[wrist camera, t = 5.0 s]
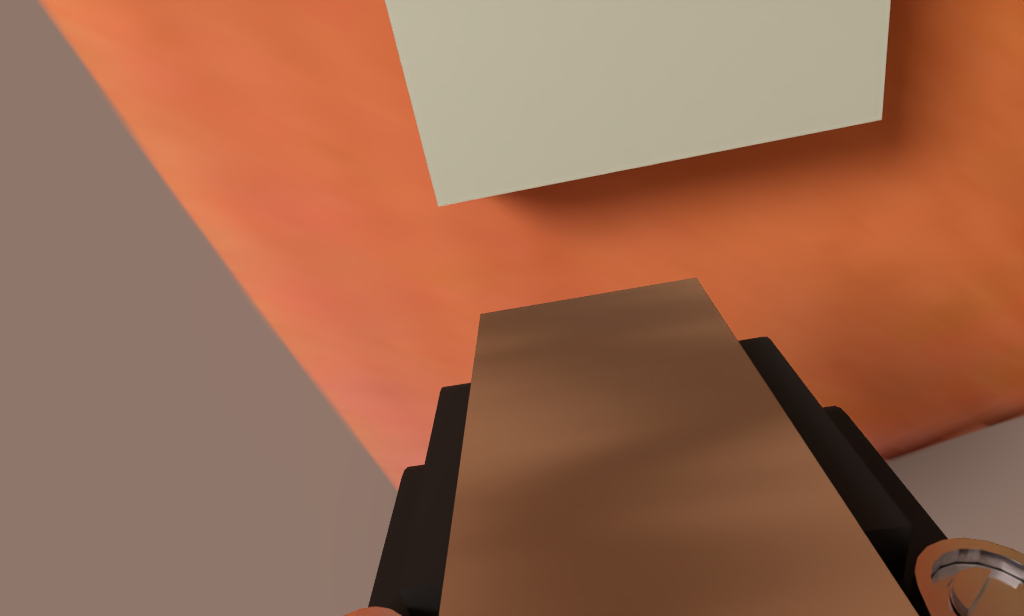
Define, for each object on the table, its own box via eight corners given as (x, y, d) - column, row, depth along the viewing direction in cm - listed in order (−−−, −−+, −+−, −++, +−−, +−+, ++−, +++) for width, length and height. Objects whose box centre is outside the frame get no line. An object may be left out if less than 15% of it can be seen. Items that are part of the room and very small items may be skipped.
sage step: (817, -207, 15) (911, -283, 12) (810, 104, 19) (881, 119, 15) (385, -101, 16) (348, -140, 13) (452, 175, 20) (438, 206, 16)
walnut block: (696, 277, 10) (1083, 863, 3) (705, 446, 12) (966, 1062, 5) (480, 314, 11) (398, 904, 4) (520, 472, 13) (518, 1076, 5)
